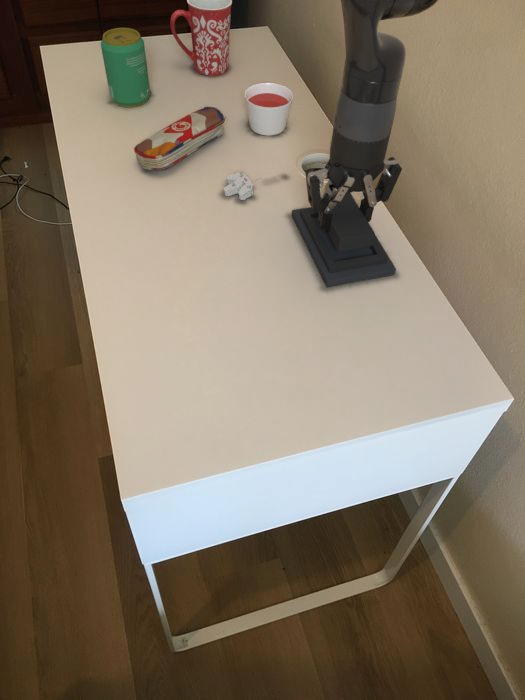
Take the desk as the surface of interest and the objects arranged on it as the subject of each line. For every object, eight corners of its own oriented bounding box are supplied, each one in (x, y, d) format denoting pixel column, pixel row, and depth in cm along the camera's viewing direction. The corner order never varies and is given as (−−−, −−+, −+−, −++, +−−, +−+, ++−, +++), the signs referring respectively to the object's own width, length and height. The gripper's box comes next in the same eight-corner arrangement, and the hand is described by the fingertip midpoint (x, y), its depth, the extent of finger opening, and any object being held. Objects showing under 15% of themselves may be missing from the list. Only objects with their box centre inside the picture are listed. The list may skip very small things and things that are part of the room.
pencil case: (121, 153, 104) (116, 127, 100) (210, 119, 112) (209, 95, 108) (154, 183, 99) (150, 157, 95) (244, 146, 107) (244, 121, 103)
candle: (291, 116, 114) (294, 84, 109) (289, 141, 108) (291, 109, 103) (246, 112, 114) (247, 81, 109) (241, 137, 108) (242, 105, 103)
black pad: (372, 246, 86) (375, 233, 84) (337, 252, 85) (340, 239, 83) (347, 205, 92) (350, 192, 90) (315, 210, 90) (317, 197, 89)
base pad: (394, 274, 87) (397, 264, 85) (326, 287, 85) (328, 277, 83) (353, 205, 97) (355, 195, 95) (291, 215, 95) (292, 204, 93)
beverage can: (131, 84, 119) (122, 22, 110) (159, 97, 116) (152, 35, 107) (102, 98, 115) (90, 36, 106) (129, 112, 112) (120, 49, 103)
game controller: (215, 190, 98) (215, 177, 96) (262, 163, 103) (263, 150, 101) (239, 205, 96) (239, 192, 94) (285, 177, 101) (286, 164, 99)
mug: (228, 56, 128) (227, -11, 117) (236, 76, 123) (236, 7, 112) (171, 60, 126) (165, -8, 115) (177, 81, 121) (171, 11, 110)
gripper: (320, 146, 71) (307, 249, 84) (425, 132, 74) (396, 234, 87) (301, 114, 75) (291, 217, 89) (401, 102, 78) (377, 204, 91)
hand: (343, 225), depth 88 cm, fingers closed on black pad, 5 cm apart
